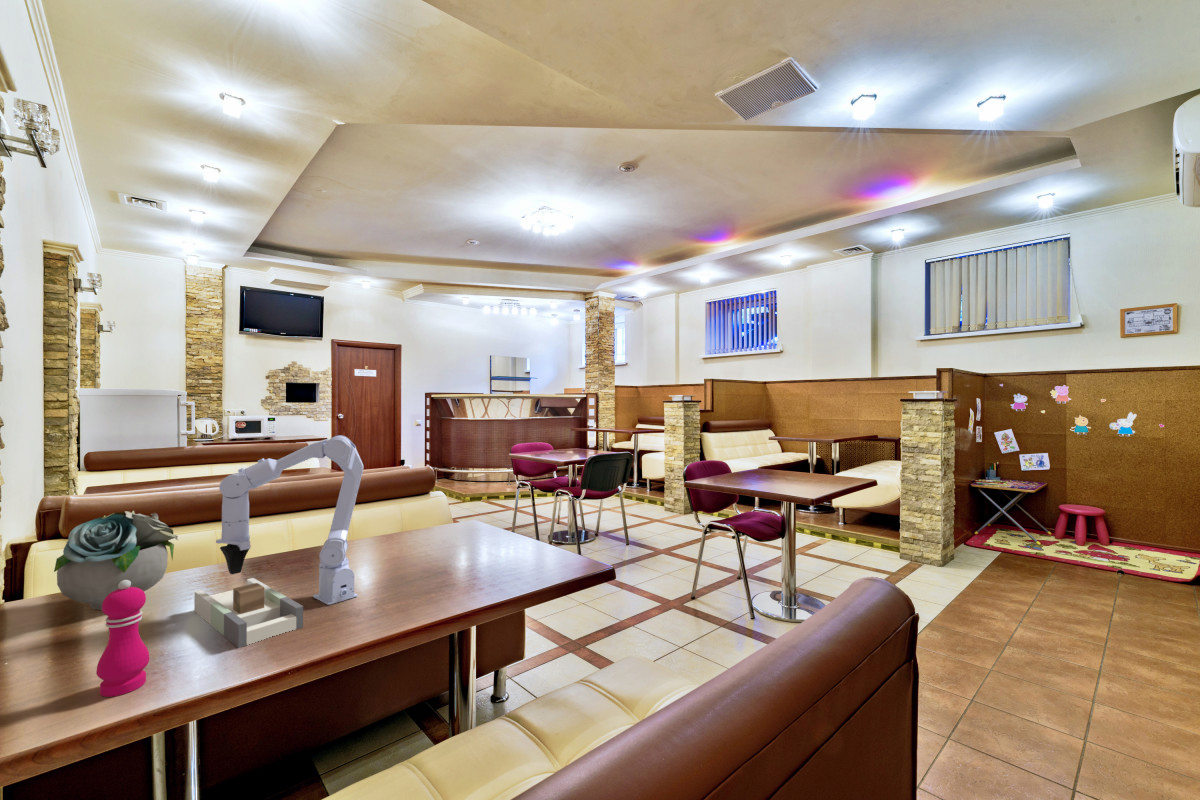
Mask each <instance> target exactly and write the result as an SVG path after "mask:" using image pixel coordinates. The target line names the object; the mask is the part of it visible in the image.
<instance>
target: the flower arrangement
mask: <svg viewBox="0 0 1200 800" xmlns="http://www.w3.org/2000/svg"><path fill="white" fill-rule="evenodd" d="M150 515H151V516H149V515H145V514H142V513H135V510H132V512H131V511H126V510H125V511H124V512H122V511H121V512H119V511H118V512H113V513H111V514H109V515H107V516H106V515H105V514H104V515H103V517H102V516H100V517H98V518H94V519H92V520H89V521H86V522H83V523H81V524H78V525H77V526H75V527H74V528H73V529H72V530H71V531H70V532H69V535H68V538H67V539H68V540H67V541H66V542H65V545H64V547H63V550H62V551H63V554H61V556H59V557H56V560H55V565H54V570H53V573H56V584H57V587H58V589H59V591H60V592H61V594H62V595H63V596H64V597H66V598H69V599H70V600H72V601H75V602H77V603H84V604H89V605H90V607H91V609H93V610H95V609H99V610H98V611H102V610H101V609H102V603H103V601H104V599H105V598H106V596H107V595H109V594H110V593H111V592H113V591H115V590H117V589H119V588H118V584H119V583H120V582H121V581H123V580H129V581H130V582H131V586H130V587H137V588H139V589H141V590H143V591H144V592H145V591H146V592H147V591H148V590H150V589H151V588H153V587H154V586H155V585H156V584H158V583H159V582H160V581H162V579H163V578H164V575H165V574H166V571H167V568H168V560H169V559H168V556H169V554H168V549H167V547H169V550H170V556H171V557H170V558H171V561H172V562H173V559H174V558H173V557H174V549H175V544H174V543H173V542H171V540H173V539H175V540H177V541H178V538H179V536H178V535H176V534H174V529H172V528H171V527H169V525H167V524H166V523H165V522H162V521H161V520H159V514H158V513H157V512H153V513H151V514H150Z"/></svg>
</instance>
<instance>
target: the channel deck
mask: <svg viewBox="0 0 1200 800" xmlns="http://www.w3.org/2000/svg"><path fill="white" fill-rule="evenodd" d="M254 583H258V584H260V585H261V586H263V587H264V608H261V609H258V610H254V611H250V612H247V613H243V614H239V613H238V612H236V611H235V610H234V609H233V589H232V590H231V589H230V590H228V591H227V590H226V591H224V592H219V593H216V594H211V595H210V594H208V592H207V593H206V591H204V590H203V589H200V590H196V591H194V597H193V598H194V602H193V603H194V610H193V611H194V612H195V613H196V614H197V615H198V616H200V618H202V619H203V620H204V621H205V622H207V623H208V624H209V625H210V626H211V627H212V628H213V629H215V630H216V631H217V632H218V633H220V634H221V635H222V636H224V638H226V639H227V640H228V641H230V643H231V644H233V645H234V646H235V645H236V646H235V647H237V648H238V649H240V647H241V648H243V646H244V647H246V645H247V646H250V645H253V644H255V642H256V643H259V642H262V641H265V640H267V639H266V638H268V639H270V638H269V637H271V638H273V637H272V636H275V637H277V636H276V635H278V636H280V635H279V634H281V635H283V634H282V633H284V634H286V633H285V632H287V633H289V631H290V632H293V631H296V630H299V629H302V628H304V606H303V605H302V604H300V603H298V602H297V601H295V600H293V599H292V598H290V597H289V596H286V595H285V594H282V593H281V592H279V591H277V590H276V589H274V588H272V587H270V586H269V585H266V584H265V583H264V582H261V581H259V580H258V579H256V578H254V577H251V578H247V579H246V585H250V584H254ZM292 630H293V631H292ZM264 639H265V640H264ZM261 640H262V641H261ZM258 641H259V642H258ZM252 643H253V644H252ZM249 644H250V645H249Z"/></svg>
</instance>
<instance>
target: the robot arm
mask: <svg viewBox="0 0 1200 800" xmlns="http://www.w3.org/2000/svg"><path fill="white" fill-rule="evenodd" d="M325 457H326V458H327V459H329V460H331V461H333V462H334V463H336V464H337V465H338V467H340V469H341V470H342V471H343V473H344V474H343V477H342V482H341V486H340V490H339V494H338V498H337V501H336V505H335V510H334V514H333V518H332V521H331V526H330V530H329V533H328V537H327V539H326V541H325V542H324V543H323V546H322V549H321V551H320V552H319V555H318V556H319V560H320V562H319V566H318V570H319V571H318V580H319V581H318V589H319V590H318V593H316V594H312V597H313V598H314V599H316V600H318V601H319V602H322V603H323V604H326V605H327V606H328V605H330V606H331V605H332V604H333V605H334V604H336V603H340V602H343V601H347V600H351V599H353V598H356V597H358V596H359V595H358V593H356V592H355V573H354V571H353V569H352V568H350V559H349V558H348V557H347V552H348V548H349V544H348V543H349V542H348V539H347V538H348V533H349V528H350V525H351V521H352V517H353V513H354V509H355V504H356V500H357V497H358V496H357V495H358V492H359V488H360V485H361V481H362V480H361V479H362V477H363V472H364V464H363V461H362V459H361V456H360V455H359V452H358V450H357V446H356V445H355V443H353V442H352V441H351V439H350V438H348V437H347V436H345V435H342V434H340V435H335V436H333V437H331V438H326V439H322V440H319V441H316V442H313V443H310V444H309V445H307V446H305V447H302V448H300V449H298V450H296V451H293V452H292V453H289V454H288V455H286V456H283V457H281V458H278V459H273V458H266V459H265V458H264V457H263V458H261V459H259V460H257V463H255V464H252V465H251V466H248V467H246V468H243V467H241V468H239V469H238V470H237V472H236V473H233V474H229V475H227V476H226V477H224V478H223V479H222V480H221V482H220V483H219V486H218V487H219V491H220V493H221V494H222V504H221V538H220V539H216V540H215V543H216V544H217V545H218V544H226V545H224V546H223V545H222V546H219V549H220V551H221V552H222V554H223V556H224V558H225V562H226V565H227V569H228V572H229V574H230V575H236V574H240V573H241V572H242V570H243V566H244V562H245V558H246V556H247V554H248V552H249V551H250V549H251V541H250V539H251V535H250V500H249V499H250V498H249V496H250V495H249V491H250V490H253V489H257V488H259V487H261V486H263V485H266V484H268V483H270V482H272V481H274V480H276V479H279V478H280V477H281V474H282V473H283V471H284V470H286V469H289V468H291V467H294V466H296V465H298V464H300V463H302V462H305V461H308V460H310V459H312V458H315V459H324V458H325Z"/></svg>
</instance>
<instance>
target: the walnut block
mask: <svg viewBox="0 0 1200 800" xmlns="http://www.w3.org/2000/svg"><path fill="white" fill-rule="evenodd" d="M232 590H233V609H234V610H235V611H236V612H238V613H239V614H243V613H247V612H250V611H254V610H258V609H261V608H264V587H263V586H261V585H260V584H258V583H254V584H250V585H247V584H246V585H242V586H238V587H235V588H233V589H232Z"/></svg>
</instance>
